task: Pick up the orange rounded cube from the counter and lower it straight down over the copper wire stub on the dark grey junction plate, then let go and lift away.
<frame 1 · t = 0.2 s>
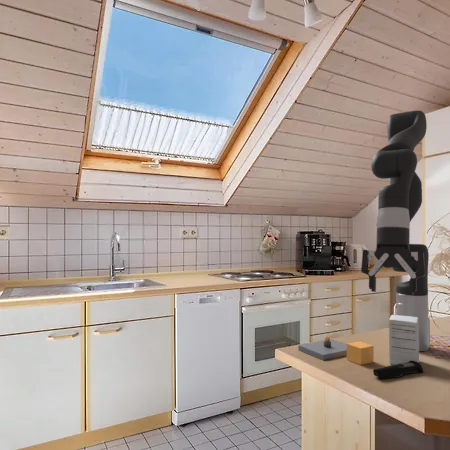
hand: (392, 293, 93), 22 cm above the worktop, tool pointing down, fingers open, 8 cm apart
junction plate: (327, 351, 118), on the worktop
orange rounded cube: (360, 360, 109), on the worktop
supplement box: (404, 363, 108), on the worktop
electric trimmer: (399, 376, 98), on the worktop
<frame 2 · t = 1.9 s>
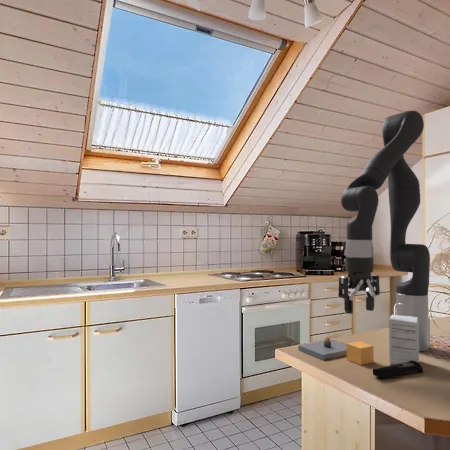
hand: (359, 311, 109), 14 cm above the worktop, tool pointing down, fingers open, 8 cm apart
nothing on the worktop moved.
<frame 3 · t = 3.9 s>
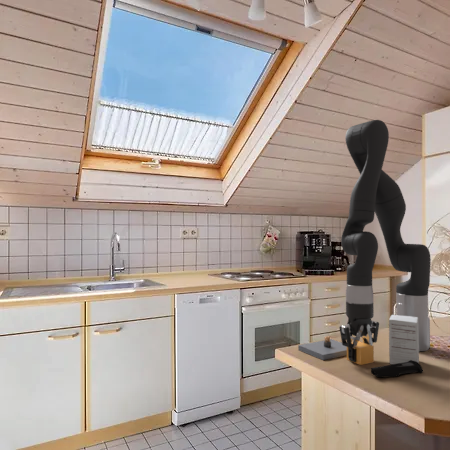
hand: (359, 359, 109), 0 cm above the worktop, tool pointing down, fingers closed on orange rounded cube, 5 cm apart
orange rounded cube: (360, 360, 109), on the worktop, touching gripper
everything else where it was.
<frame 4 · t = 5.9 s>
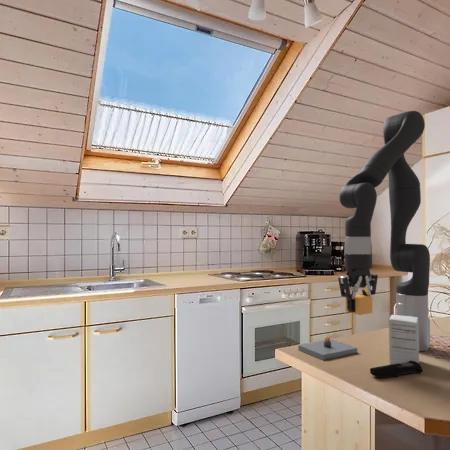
hand: (358, 310, 110), 14 cm above the worktop, tool pointing down, fingers closed on orange rounded cube, 5 cm apart
orange rounded cube: (358, 312, 110), point 14 cm above the worktop, touching gripper
everything else where it was.
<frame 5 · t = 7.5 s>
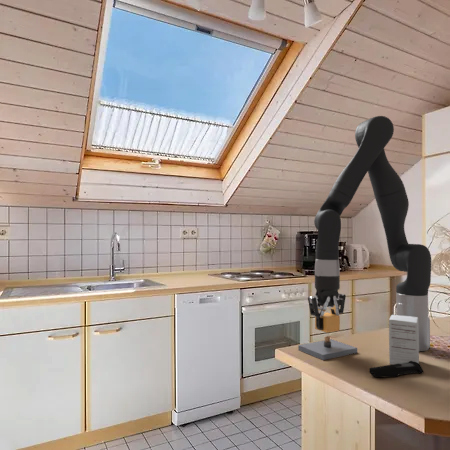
hand: (327, 328, 118), 7 cm above the worktop, tool pointing down, fingers closed on orange rounded cube, 5 cm apart
orange rounded cube: (327, 329, 118), point 7 cm above the worktop, touching gripper
everything else where it was.
when the fingers open (2 cm above the worktop, at t = 9.4 s): orange rounded cube stays where it is, resting on junction plate.
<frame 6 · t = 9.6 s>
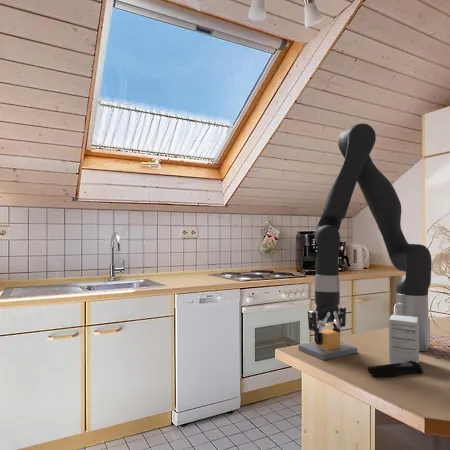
hand: (327, 342, 118), 3 cm above the worktop, tool pointing down, fingers open, 6 cm apart
orange rounded cube: (327, 346, 118), point 1 cm above the worktop, touching junction plate
everything else where it was.
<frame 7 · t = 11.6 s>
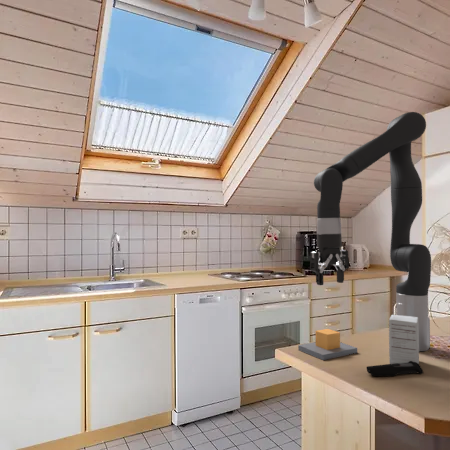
hand: (330, 283, 120), 21 cm above the worktop, tool pointing down, fingers open, 8 cm apart
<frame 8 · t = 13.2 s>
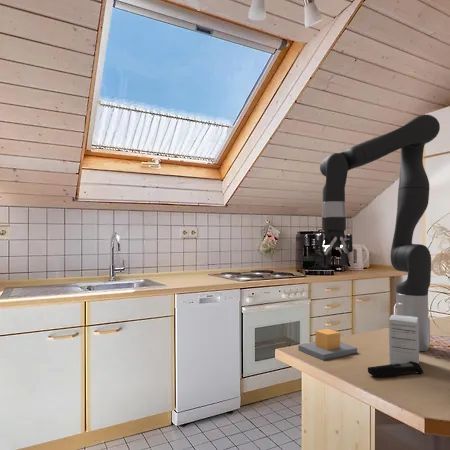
hand: (334, 266, 123), 26 cm above the worktop, tool pointing down, fingers open, 8 cm apart
nothing on the worktop moved.
at the end: orange rounded cube 0.1 cm from the junction plate (horizontally); orange rounded cube point 1.5 cm above the worktop; orange rounded cube tilted 0° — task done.
